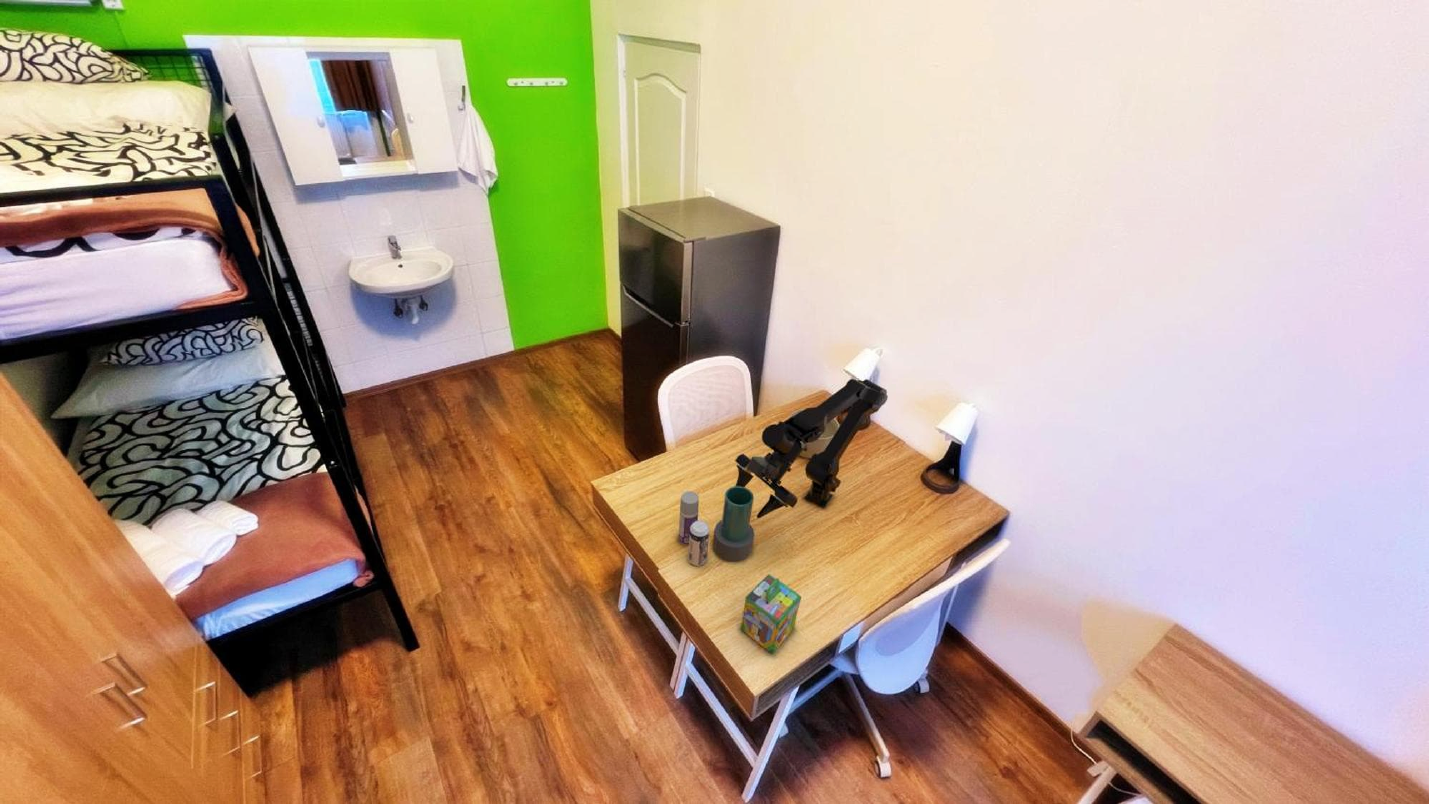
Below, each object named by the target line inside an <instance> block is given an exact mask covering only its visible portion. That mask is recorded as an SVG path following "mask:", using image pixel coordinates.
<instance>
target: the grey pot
mask: <svg viewBox="0 0 1429 804" xmlns="http://www.w3.org/2000/svg"><path fill="white" fill-rule="evenodd" d="M721 524H722V519H721V520H719V521H718V522H717V523H716V525H715V526H714V531H713V537H712V538H713V540H712V549H713V550H714V553H715V554H716V556H718V557H719V558H720V559H722V560H724V561H726V562H730V563H731V562H732V563H734V562H735V563H736V562H742V561H744V560H746V559H747V558H749V557H750V555H751V554H752V551H753V544H754V539H755V530H754V528H753V526H752V525H751V524H750V526H749V532H748V536H747V537H746V539H744V540H743V541H740V542H732V541H729V540H727V539H725V538H724V537H723V535H722V533H721Z"/></svg>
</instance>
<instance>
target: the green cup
mask: <svg viewBox="0 0 1429 804" xmlns="http://www.w3.org/2000/svg"><path fill="white" fill-rule="evenodd" d="M754 497H755V496H754V493H753V492H752V490H750V489H749V488H747V487H746V486H745V487H741V486H736V485H734V486H731V487H729V488H728V489H726V490H725V493H724V499H723V507H722V516H721V520H722V524H721V533H722V535H723V537H724V538H725V539H727V540H729V541H732V542H740V541H743V540H744V539H746V537H747V536H748V532H749V526H750V525H751V520H752V512H753V506H754V501H755V500H754V499H755V498H754Z"/></svg>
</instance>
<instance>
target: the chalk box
mask: <svg viewBox="0 0 1429 804" xmlns="http://www.w3.org/2000/svg"><path fill="white" fill-rule="evenodd" d="M779 579H780V578H778V577H777V578H776V577H775V576H773V575H771V574H769V573H768V574H767V575H765V577H764V578H763V579H762V580H761V581H760V582H759V583H758V584H757V585H756V586H755V587H754V588H753V589H752V590H751V591H750V592H749V593H748V594H747V595H746V596H745V600H744V607H743V613H742V621H741V625H740V626H741V627H740V630H741V631H742V632H744V633H745V635H747V636H749V637H750V639H752V640H753V641H754V642H756V643H757V644H758V645H760V646H761V647H762V648H764V649H765V650H767V651H768V652H769V653H770V654H772V655H773V654H774V653H775V652H776V651H777V649H778V648H779V647H780V646H781V645H782V643H784V641H785V640H786V639H787V638H788V636H789V635H790V634H791V632H792V631H793V630H794V628H795V624H796V620H797V616H798V613H799V609H800V604H801V600H802V596H801V595H800V594H799V593H798V592H796V591H795V590H794V589H792V588H790V586H788V585H787V584H785V583H784V582H783V581H781V580H779Z"/></svg>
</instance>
